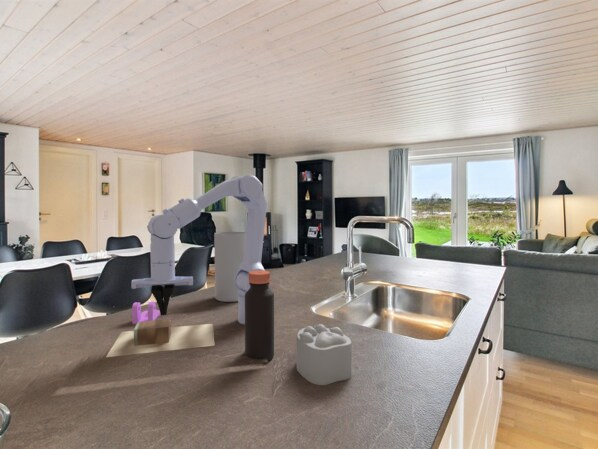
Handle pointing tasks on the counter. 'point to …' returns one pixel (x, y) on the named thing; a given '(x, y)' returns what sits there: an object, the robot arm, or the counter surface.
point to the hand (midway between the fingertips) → (163, 314)
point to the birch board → (178, 340)
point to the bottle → (259, 317)
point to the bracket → (144, 313)
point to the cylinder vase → (227, 263)
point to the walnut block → (152, 332)
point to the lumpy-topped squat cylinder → (323, 354)
